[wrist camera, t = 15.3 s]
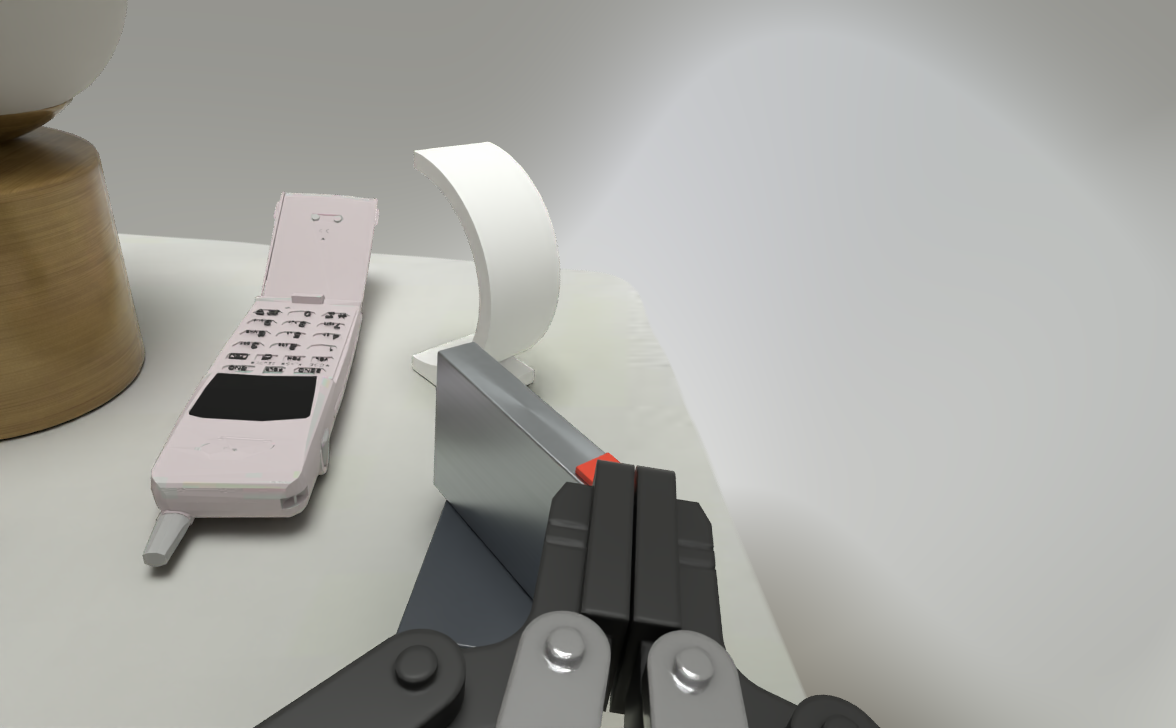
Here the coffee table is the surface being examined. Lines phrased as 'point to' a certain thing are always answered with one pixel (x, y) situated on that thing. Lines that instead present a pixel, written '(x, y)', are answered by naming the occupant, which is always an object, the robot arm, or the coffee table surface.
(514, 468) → the grey flat block
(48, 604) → the coffee table surface
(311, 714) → the robot arm
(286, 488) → the mobile phone
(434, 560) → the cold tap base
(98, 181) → the lamp
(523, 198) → the headphone stand
